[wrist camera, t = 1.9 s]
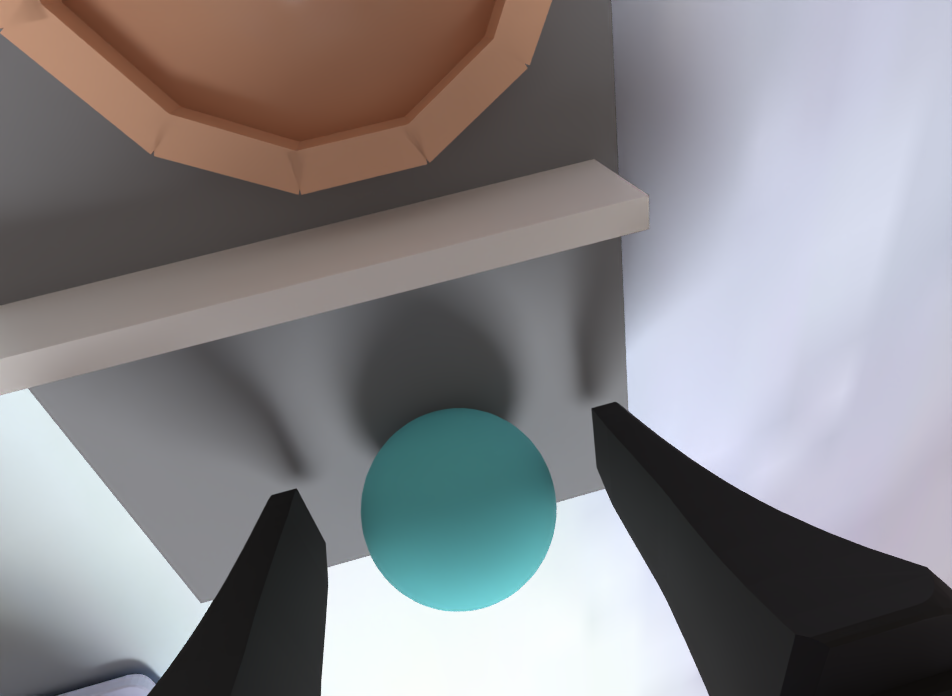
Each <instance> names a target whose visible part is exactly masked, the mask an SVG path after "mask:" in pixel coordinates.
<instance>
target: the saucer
mask: <svg viewBox="0 0 952 696" xmlns="http://www.w3.org/2000/svg"><path fill="white" fill-rule="evenodd" d="M551 2H552V0H0V29H2V31H1V32H0V33H1V34H2V35H3V36H4V37H6V38H7V39H8V40H9V41H10V42H12V43H13V44H14V45H15V46H17V47H18V48H19V49H20V50H22V51H23V52H24V53H25V54H27V55H28V56H29V57H30V58H32V59H33V60H34V61H35V62H37V63H38V64H39V65H40V66H42V67H43V68H44V69H45V70H46V71H48V72H49V73H50V74H51V75H53V76H54V77H55V78H56V79H58V80H59V81H60V82H61V83H63V84H64V85H65V86H66V87H68V88H69V89H70V90H71V91H73V92H74V93H75V94H76V95H78V96H79V97H80V98H81V99H82V100H84V101H85V102H86V103H87V104H89V105H90V106H91V107H92V108H94V109H95V110H96V111H97V112H99V113H100V114H101V115H102V116H104V117H105V118H106V119H107V120H109V121H110V122H111V123H112V124H114V125H115V126H116V127H117V128H119V129H120V130H121V131H122V132H123V133H125V134H126V135H127V136H128V137H130V138H131V139H132V140H133V141H135V142H136V143H137V144H138V145H140V146H141V147H142V148H143V149H145V150H146V151H147V152H148V153H150V154H152V153H153V152H154V156H156V157H159V158H163V159H167V160H171V161H174V162H178V163H182V164H186V165H189V166H193V167H197V168H201V169H204V170H208V171H212V172H215V173H219V174H223V175H227V176H230V177H234V178H238V179H242V180H245V181H249V182H253V183H257V184H260V185H264V186H268V187H272V188H275V189H279V190H283V191H287V192H290V193H294V194H298V195H299V191H300V192H301V195H303V194H307V193H311V192H315V191H319V190H323V189H327V188H332V187H336V186H340V185H344V184H348V183H352V182H356V181H360V180H364V179H369V178H373V177H377V176H381V175H385V174H389V173H393V172H397V171H401V170H406V169H410V168H414V167H418V166H422V165H426V164H427V161H426V159H427V160H428V161H429V162H431V161H432V160H433V159H434V158H435V157H436V156H437V155H438V154H439V153H441V152H442V151H443V150H444V149H445V148H446V147H447V146H448V145H449V144H450V143H451V142H452V141H453V140H454V139H455V138H456V137H457V136H458V135H459V134H460V133H461V132H462V131H463V130H464V129H465V128H466V127H467V126H468V125H470V124H471V123H472V122H473V121H474V120H475V119H476V118H477V117H478V116H479V115H480V114H481V113H482V112H483V111H484V110H485V109H486V108H487V107H488V106H489V105H490V104H491V103H492V102H493V101H494V100H495V99H496V98H497V97H498V96H500V95H501V94H502V93H503V92H504V91H505V90H506V89H507V88H508V87H509V86H510V85H511V84H512V83H513V82H514V81H515V80H516V79H517V78H518V77H519V76H520V75H521V74H522V73H523V72H524V71H525V70H526V69H527V66H526V65H525V64H528V65H530V63H531V60H532V57H533V54H534V51H535V48H536V46H537V43H538V40H539V37H540V34H541V31H542V28H543V25H544V23H545V20H546V17H547V14H548V11H549V8H550V5H551Z"/></svg>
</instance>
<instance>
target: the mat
mask: <svg viewBox="0 0 952 696" xmlns="http://www.w3.org/2000/svg"><path fill="white" fill-rule="evenodd" d="M1 31H2V29H0V32H1ZM525 65H526V66H527V69H526V70H525V71H524V72H523V73H522V74H521V75H520V76H519V77H518V78H517V79H516V80H515V81H514V82H513V83H512V84H511V85H510V86H509V87H508V88H507V89H506V90H505V91H504V92H503V93H502V94H501V95H500V96H498V97H497V98H496V99H495V100H494V101H493V102H492V103H491V104H490V105H489V106H488V107H487V108H486V109H485V110H484V111H483V112H482V113H481V114H480V115H479V116H478V117H477V118H476V119H475V120H474V121H473V122H472V123H471V124H470V125H468V126H467V127H466V128H465V129H464V130H463V131H462V132H461V133H460V134H459V135H458V136H457V137H456V138H455V139H454V140H453V141H452V142H451V143H450V144H449V145H448V146H447V147H446V148H445V149H444V150H443V151H442V152H441V153H439V154H438V155H437V156H436V157H435V158H434V159H433V160H432V161H431V162H429V161H428V160H427V159H426V161H427V164H426V165H422V166H418V167H414V168H410V169H406V170H401V171H397V172H393V173H389V174H385V175H381V176H377V177H373V178H369V179H364V180H360V181H356V182H352V183H348V184H344V185H340V186H336V187H332V188H327V189H323V190H319V191H315V192H311V193H307V194H303V195H301V192H300V191H299V195H298V194H294V193H290V192H287V191H283V190H279V189H275V188H272V187H268V186H264V185H260V184H257V183H253V182H249V181H245V180H242V179H238V178H234V177H230V176H227V175H223V174H219V173H215V172H212V171H208V170H204V169H201V168H197V167H193V166H189V165H186V164H182V163H178V162H174V161H171V160H167V159H163V158H159V157H156V156H154V152H153V153H152V154H150V153H148V152H147V151H146V150H145V149H143V148H142V147H141V146H140V145H138V144H137V143H136V142H135V141H133V140H132V139H131V138H130V137H128V136H127V135H126V134H125V133H123V132H122V131H121V130H120V129H119V128H117V127H116V126H115V125H114V124H112V123H111V122H110V121H109V120H107V119H106V118H105V117H104V116H102V115H101V114H100V113H99V112H97V111H96V110H95V109H94V108H92V107H91V106H90V105H89V104H87V103H86V102H85V101H84V100H82V99H81V98H80V97H79V96H78V95H76V94H75V93H74V92H73V91H71V90H70V89H69V88H68V87H66V86H65V85H64V84H63V83H61V82H60V81H59V80H58V79H56V78H55V77H54V76H53V75H51V74H50V73H49V72H48V71H46V70H45V69H44V68H43V67H42V66H40V65H39V64H38V63H37V62H35V61H34V60H33V59H32V58H30V57H29V56H28V55H27V54H25V53H24V52H23V51H22V50H20V49H19V48H18V47H17V46H15V45H14V44H13V43H12V42H10V41H9V40H8V39H7V38H6V37H4V36H3V35H2V34H1V33H0V305H5V304H9V303H13V302H17V301H21V300H25V299H29V298H33V297H37V296H41V295H45V294H49V293H53V292H57V291H61V290H65V289H69V288H73V287H77V286H82V285H86V284H90V283H94V282H98V281H102V280H106V279H110V278H114V277H118V276H122V275H126V274H130V273H134V272H138V271H142V270H146V269H150V268H154V267H158V266H163V265H167V264H171V263H175V262H179V261H183V260H187V259H191V258H195V257H199V256H203V255H207V254H211V253H215V252H219V251H223V250H227V249H231V248H235V247H239V246H244V245H248V244H252V243H256V242H260V241H264V240H268V239H272V238H276V237H280V236H284V235H288V234H292V233H296V232H300V231H304V230H308V229H312V228H316V227H321V226H325V225H329V224H333V223H337V222H341V221H345V220H349V219H353V218H357V217H361V216H365V215H369V214H373V213H377V212H381V211H385V210H389V209H393V208H397V207H402V206H406V205H410V204H414V203H418V202H422V201H426V200H430V199H434V198H438V197H442V196H446V195H450V194H454V193H458V192H462V191H466V190H470V189H474V188H478V187H483V186H487V185H491V184H495V183H499V182H503V181H507V180H511V179H515V178H519V177H523V176H527V175H531V174H535V173H539V172H543V171H547V170H551V169H555V168H559V167H564V166H568V165H572V164H576V163H580V162H584V161H588V160H592V159H595V160H596V161H598V162H599V163H601V164H602V165H604V166H605V167H607V168H608V169H610V170H611V171H613V172H614V173H616V174H617V175H618V154H617V130H616V106H615V82H614V58H613V34H612V10H611V0H552V2H551V5H550V8H549V11H548V14H547V17H546V20H545V23H544V25H543V28H542V31H541V34H540V37H539V40H538V43H537V46H536V48H535V51H534V54H533V57H532V60H531V63H530V65H528V64H525ZM28 389H29V390H30V391H31V393H32V394H33V395H34V396H35V398H36V399H37V400H38V401H39V403H40V404H41V405H42V406H43V408H44V409H45V410H46V411H47V413H48V414H49V415H50V416H51V418H52V419H53V420H54V421H55V423H56V424H57V425H58V426H59V427H60V429H61V430H62V431H63V432H64V434H65V435H66V436H67V437H68V439H69V440H70V441H71V442H72V444H73V445H74V446H75V447H76V449H77V450H78V451H79V452H80V454H81V455H82V456H83V457H84V459H85V460H86V461H87V462H88V463H89V465H90V466H91V467H92V468H93V470H94V471H95V472H96V473H97V475H98V476H99V477H100V478H101V480H102V481H103V482H104V483H105V485H106V486H107V487H108V488H109V490H110V491H111V492H112V493H113V495H114V496H115V497H116V498H117V499H118V501H119V502H120V503H121V504H122V506H123V507H124V508H125V509H126V511H127V512H128V513H129V514H130V516H131V517H132V518H133V519H134V521H135V522H136V523H137V524H138V526H139V527H140V528H141V529H142V531H143V532H144V533H145V534H146V535H147V537H148V538H149V539H150V540H151V542H152V543H153V544H154V545H155V547H156V548H157V549H158V550H159V552H160V553H161V554H162V555H163V557H164V558H165V559H166V560H167V562H168V563H169V564H170V565H171V567H172V568H173V569H174V570H175V571H176V573H177V574H178V575H179V576H180V578H181V579H182V580H183V581H184V583H185V584H186V585H187V586H188V588H189V589H190V590H191V591H192V593H193V594H194V595H195V596H196V598H197V599H198V600H199V601H200V603H203V602H207V601H210V600H214V599H215V597H216V595H217V594H218V592H219V590H220V589H221V587H222V585H223V584H224V582H225V580H226V578H227V577H228V575H229V573H230V571H231V569H232V567H233V566H234V564H235V562H236V560H237V558H238V557H239V555H240V553H241V551H242V549H243V547H244V545H245V544H246V542H247V540H248V538H249V536H250V534H251V532H252V530H253V528H254V526H255V524H256V522H257V520H258V519H259V517H260V515H261V513H262V511H263V509H264V507H265V505H266V503H267V501H268V499H269V498H270V496H271V495H274V494H277V493H281V492H285V491H288V490H292V489H296V488H297V490H298V491H299V493H300V495H301V497H302V499H303V501H304V503H305V505H306V507H307V508H308V510H309V512H310V514H311V516H312V518H313V520H314V522H315V523H316V525H317V527H318V529H319V531H320V533H321V535H322V537H323V539H324V540H325V542H326V554H327V567H330V566H334V565H337V564H341V563H344V562H348V561H352V560H355V559H359V558H362V557H366V556H369V555H370V553H369V550H368V548H367V545H366V542H365V538H364V535H363V530H362V522H361V498H362V492H363V487H364V483H365V479H366V476H367V474H368V471H369V469H370V467H371V464H372V462H373V460H374V458H375V457H376V455H377V454H378V452H379V451H380V449H381V448H382V447H383V445H384V444H385V443H386V442H387V441H388V439H389V438H390V437H391V436H392V435H393V434H395V433H396V432H397V431H398V430H399V429H401V428H402V427H403V426H405V425H406V424H407V423H409V422H411V421H412V420H414V419H416V418H418V417H420V416H423V415H425V414H428V413H431V412H434V411H438V410H443V409H451V408H468V409H475V410H480V411H484V412H488V413H491V414H494V415H496V416H498V417H500V418H502V419H504V420H506V421H508V422H510V423H511V424H512V425H514V426H515V427H517V428H518V429H519V430H520V431H522V432H523V433H524V434H525V435H526V436H527V437H528V438H529V439H530V440H531V441H532V443H533V444H534V445H535V446H536V448H537V449H538V451H539V452H540V453H541V455H542V457H543V459H544V461H545V463H546V465H547V467H548V469H549V471H550V474H551V477H552V481H553V485H554V489H555V496H556V502H560V501H563V500H567V499H570V498H574V497H577V496H581V495H584V494H588V493H591V492H595V491H599V490H602V489H605V487H604V484H603V482H602V479H601V477H600V475H599V472H598V470H597V467H596V456H595V445H594V433H593V422H592V411H591V408H594V407H597V406H601V405H605V404H608V403H612V402H617V403H619V404H620V405H621V406H623V407H624V408H625V409H626V410H627V411H628V394H627V370H626V346H625V322H624V298H623V274H622V250H621V236H620V237H616V238H612V239H608V240H604V241H600V242H597V243H593V244H589V245H585V246H581V247H577V248H573V249H569V250H565V251H561V252H558V253H554V254H550V255H546V256H542V257H538V258H534V259H530V260H526V261H522V262H518V263H515V264H511V265H507V266H503V267H499V268H495V269H491V270H487V271H483V272H479V273H476V274H472V275H468V276H464V277H460V278H456V279H452V280H448V281H444V282H440V283H436V284H433V285H429V286H425V287H421V288H417V289H413V290H409V291H405V292H401V293H397V294H394V295H390V296H386V297H382V298H378V299H374V300H370V301H366V302H362V303H358V304H354V305H351V306H347V307H343V308H339V309H335V310H331V311H327V312H323V313H319V314H315V315H312V316H308V317H304V318H300V319H296V320H292V321H288V322H284V323H280V324H276V325H272V326H269V327H265V328H261V329H257V330H253V331H249V332H245V333H241V334H237V335H233V336H230V337H226V338H222V339H218V340H214V341H210V342H206V343H202V344H198V345H194V346H190V347H187V348H183V349H179V350H175V351H171V352H167V353H163V354H159V355H155V356H151V357H148V358H144V359H140V360H136V361H132V362H128V363H124V364H120V365H116V366H112V367H108V368H105V369H101V370H97V371H93V372H89V373H85V374H81V375H77V376H73V377H69V378H66V379H62V380H58V381H54V382H50V383H46V384H42V385H38V386H34V387H30V388H28Z"/></svg>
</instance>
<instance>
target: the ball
mask: <svg viewBox="0 0 952 696" xmlns="http://www.w3.org/2000/svg"><path fill="white" fill-rule="evenodd" d="M361 522H362V530H363V535H364V538H365V542H366V545H367V548H368V550H369V553H370V555H371V557H372V559H373V561H374V562H375V564H376V566H377V568H378V569H379V570H380V572H381V573H382V574H383V576H384V577H385V578H386V579H387V580H388V581H389V583H391V584H392V585H393V586H394V587H395V588H396V589H397V590H398V591H400V592H401V593H402V594H404V595H405V596H407V597H409V598H410V599H412V600H414V601H415V602H417V603H420V604H422V605H425V606H428V607H431V608H434V609H438V610H444V611H471V610H477V609H481V608H485V607H488V606H491V605H493V604H496V603H498V602H500V601H502V600H504V599H506V598H507V597H509V596H511V595H512V594H514V593H515V592H516V591H518V590H519V589H520V588H521V587H522V586H523V585H524V584H525V583H526V582H527V581H528V580H529V579H530V578H531V577H532V576H533V575H534V573H535V572H536V571H537V569H538V568H539V566H540V564H541V563H542V561H543V560H544V558H545V556H546V554H547V551H548V549H549V546H550V544H551V541H552V537H553V534H554V529H555V522H556V496H555V489H554V485H553V481H552V477H551V474H550V471H549V469H548V467H547V465H546V463H545V461H544V459H543V457H542V455H541V453H540V452H539V451H538V449H537V448H536V446H535V445H534V444H533V443H532V441H531V440H530V439H529V438H528V437H527V436H526V435H525V434H524V433H523V432H522V431H520V430H519V429H518V428H517V427H515V426H514V425H512V424H511V423H510V422H508V421H506V420H504V419H502V418H500V417H498V416H496V415H494V414H491V413H488V412H484V411H480V410H475V409H468V408H451V409H443V410H438V411H434V412H431V413H428V414H425V415H423V416H420V417H418V418H416V419H414V420H412V421H411V422H409V423H407V424H406V425H405V426H403V427H402V428H401V429H399V430H398V431H397V432H396V433H395V434H393V435H392V436H391V437H390V438H389V439H388V441H387V442H386V443H385V444H384V445H383V447H382V448H381V449H380V451H379V452H378V454H377V455H376V457H375V458H374V460H373V462H372V464H371V467H370V469H369V471H368V474H367V476H366V479H365V483H364V487H363V492H362V498H361Z"/></svg>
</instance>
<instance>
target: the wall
mask: <svg viewBox="0 0 952 696" xmlns="http://www.w3.org/2000/svg"><path fill="white" fill-rule="evenodd" d="M647 229H649V195H647V194H646V193H644V192H643V191H641V190H640V189H638V188H637V187H635V186H634V185H632V184H631V183H629V182H628V181H626V180H625V179H623V178H622V177H620V176H619V175H617V174H616V173H614V172H613V171H611V170H610V169H608V168H607V167H605V166H604V165H602V164H601V163H599V162H598V161H596V160H595V159H592V160H588V161H584V162H580V163H576V164H572V165H568V166H564V167H559V168H555V169H551V170H547V171H543V172H539V173H535V174H531V175H527V176H523V177H519V178H515V179H511V180H507V181H503V182H499V183H495V184H491V185H487V186H483V187H478V188H474V189H470V190H466V191H462V192H458V193H454V194H450V195H446V196H442V197H438V198H434V199H430V200H426V201H422V202H418V203H414V204H410V205H406V206H402V207H397V208H393V209H389V210H385V211H381V212H377V213H373V214H369V215H365V216H361V217H357V218H353V219H349V220H345V221H341V222H337V223H333V224H329V225H325V226H321V227H316V228H312V229H308V230H304V231H300V232H296V233H292V234H288V235H284V236H280V237H276V238H272V239H268V240H264V241H260V242H256V243H252V244H248V245H244V246H239V247H235V248H231V249H227V250H223V251H219V252H215V253H211V254H207V255H203V256H199V257H195V258H191V259H187V260H183V261H179V262H175V263H171V264H167V265H163V266H158V267H154V268H150V269H146V270H142V271H138V272H134V273H130V274H126V275H122V276H118V277H114V278H110V279H106V280H102V281H98V282H94V283H90V284H86V285H82V286H77V287H73V288H69V289H65V290H61V291H57V292H53V293H49V294H45V295H41V296H37V297H33V298H29V299H25V300H21V301H17V302H13V303H9V304H5V305H0V395H3V394H7V393H11V392H15V391H19V390H23V389H26V388H30V387H34V386H38V385H42V384H46V383H50V382H54V381H58V380H62V379H66V378H69V377H73V376H77V375H81V374H85V373H89V372H93V371H97V370H101V369H105V368H108V367H112V366H116V365H120V364H124V363H128V362H132V361H136V360H140V359H144V358H148V357H151V356H155V355H159V354H163V353H167V352H171V351H175V350H179V349H183V348H187V347H190V346H194V345H198V344H202V343H206V342H210V341H214V340H218V339H222V338H226V337H230V336H233V335H237V334H241V333H245V332H249V331H253V330H257V329H261V328H265V327H269V326H272V325H276V324H280V323H284V322H288V321H292V320H296V319H300V318H304V317H308V316H312V315H315V314H319V313H323V312H327V311H331V310H335V309H339V308H343V307H347V306H351V305H354V304H358V303H362V302H366V301H370V300H374V299H378V298H382V297H386V296H390V295H394V294H397V293H401V292H405V291H409V290H413V289H417V288H421V287H425V286H429V285H433V284H436V283H440V282H444V281H448V280H452V279H456V278H460V277H464V276H468V275H472V274H476V273H479V272H483V271H487V270H491V269H495V268H499V267H503V266H507V265H511V264H515V263H518V262H522V261H526V260H530V259H534V258H538V257H542V256H546V255H550V254H554V253H558V252H561V251H565V250H569V249H573V248H577V247H581V246H585V245H589V244H593V243H597V242H600V241H604V240H608V239H612V238H616V237H620V236H624V235H628V234H632V233H636V232H640V231H643V230H647Z"/></svg>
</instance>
